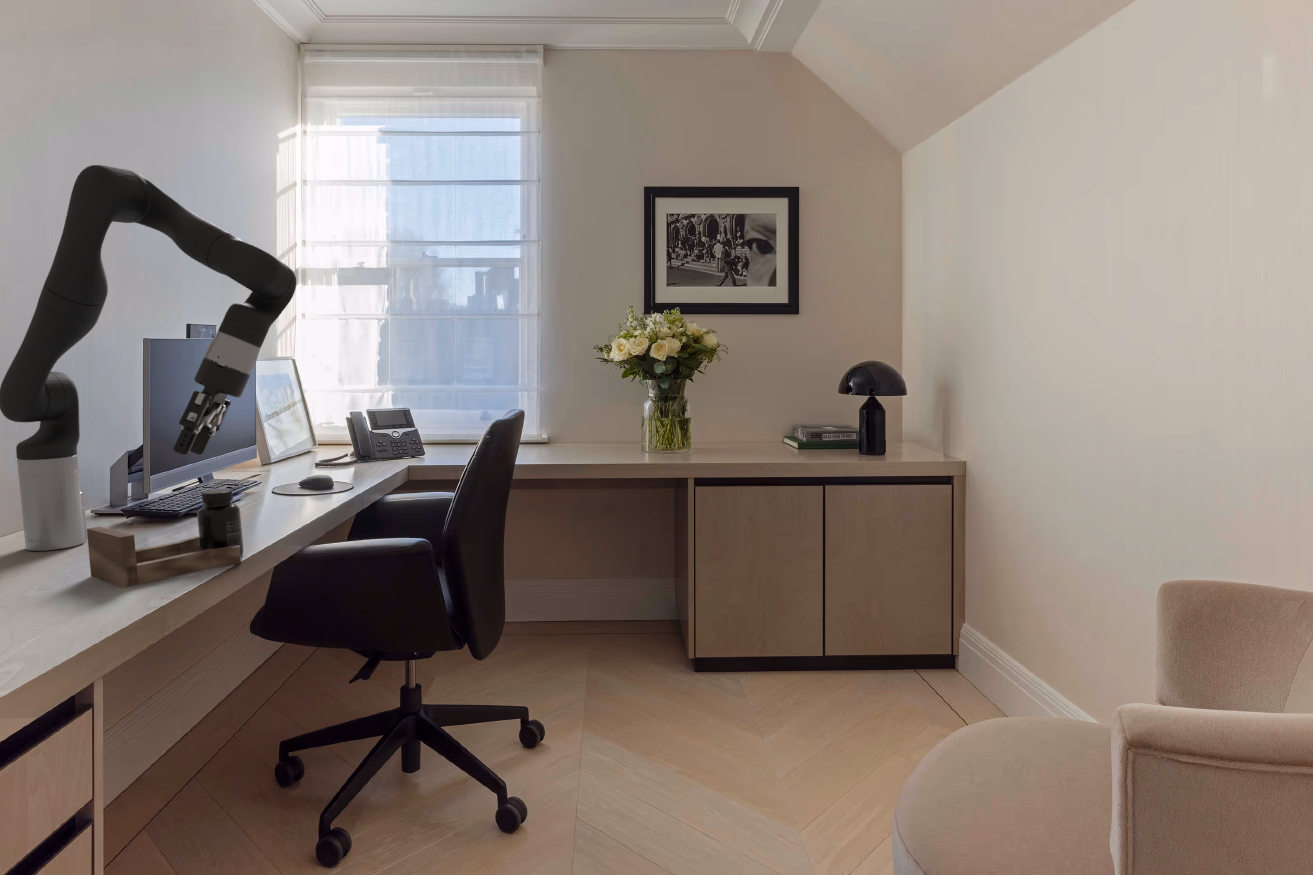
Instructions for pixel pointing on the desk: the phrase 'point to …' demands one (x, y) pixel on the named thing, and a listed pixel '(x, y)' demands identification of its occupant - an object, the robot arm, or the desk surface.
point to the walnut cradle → (150, 558)
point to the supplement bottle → (219, 521)
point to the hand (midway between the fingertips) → (188, 453)
